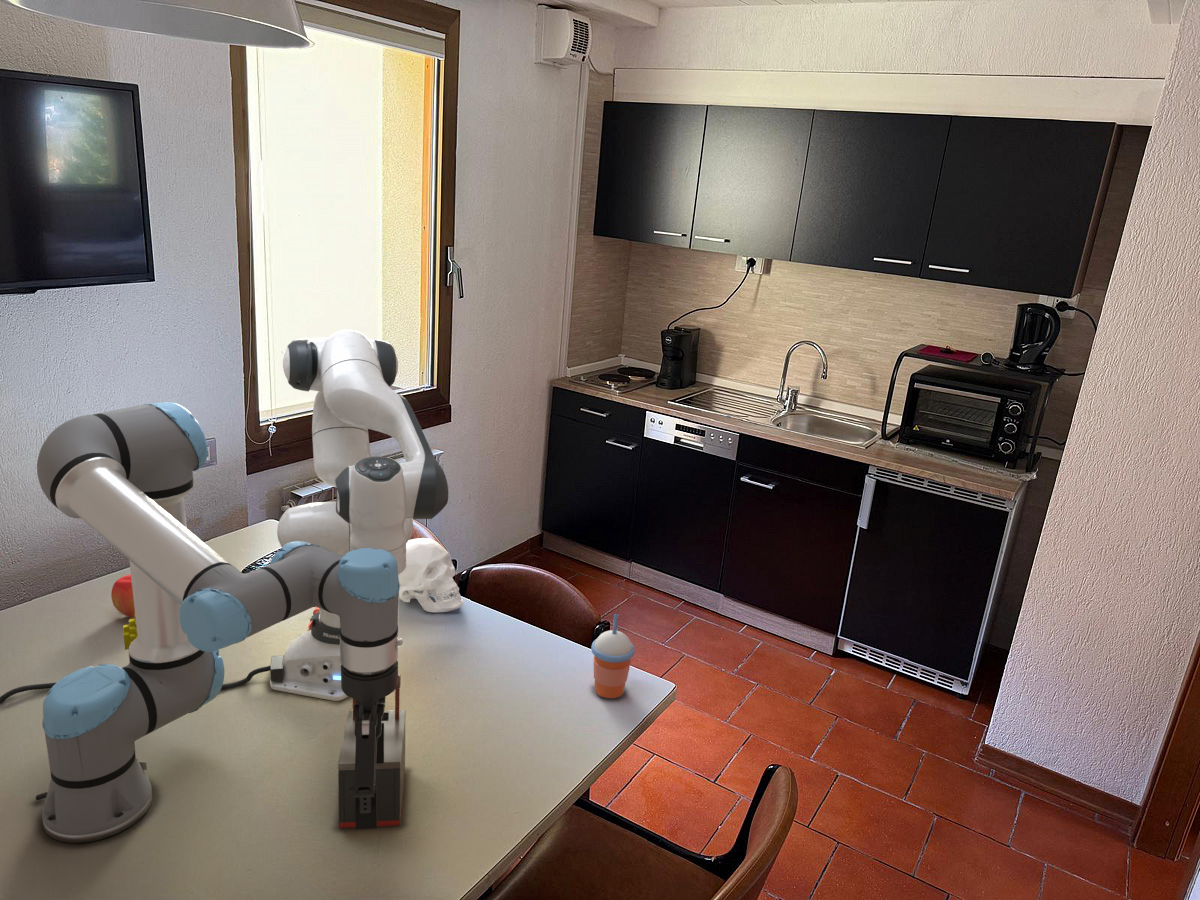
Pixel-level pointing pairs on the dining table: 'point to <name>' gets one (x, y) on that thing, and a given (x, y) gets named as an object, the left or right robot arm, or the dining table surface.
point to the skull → (429, 576)
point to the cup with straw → (611, 661)
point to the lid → (391, 738)
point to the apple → (123, 596)
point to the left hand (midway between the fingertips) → (370, 793)
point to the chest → (387, 795)
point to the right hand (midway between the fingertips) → (378, 634)
